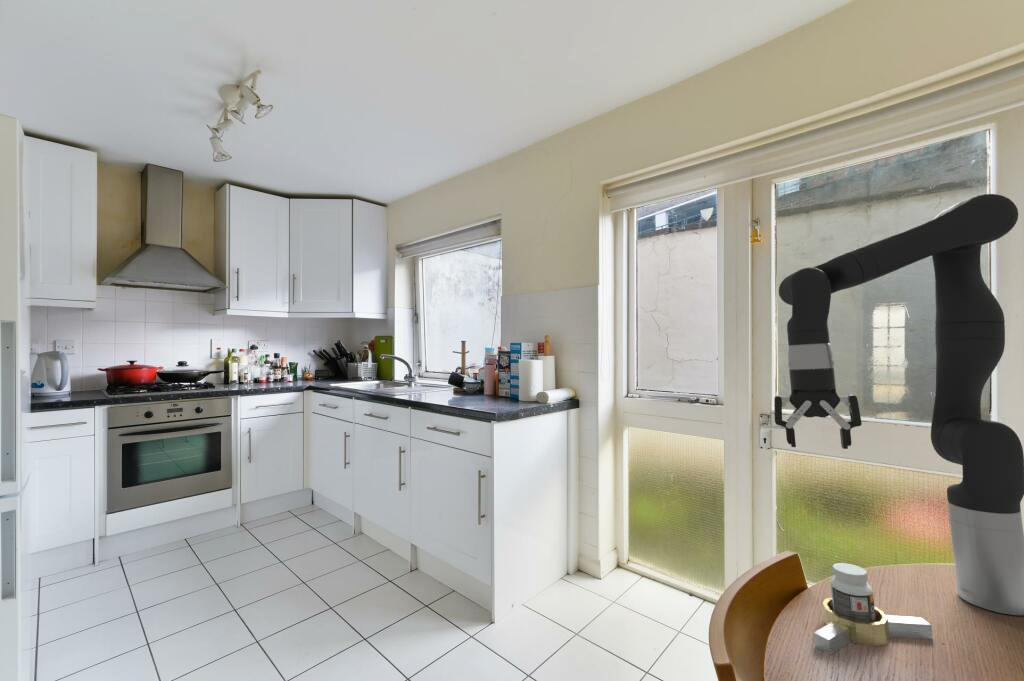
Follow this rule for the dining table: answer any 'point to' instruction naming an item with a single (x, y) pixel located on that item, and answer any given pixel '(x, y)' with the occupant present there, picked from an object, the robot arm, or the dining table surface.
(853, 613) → the pill bottle
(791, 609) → the dining table surface
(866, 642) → the stand
